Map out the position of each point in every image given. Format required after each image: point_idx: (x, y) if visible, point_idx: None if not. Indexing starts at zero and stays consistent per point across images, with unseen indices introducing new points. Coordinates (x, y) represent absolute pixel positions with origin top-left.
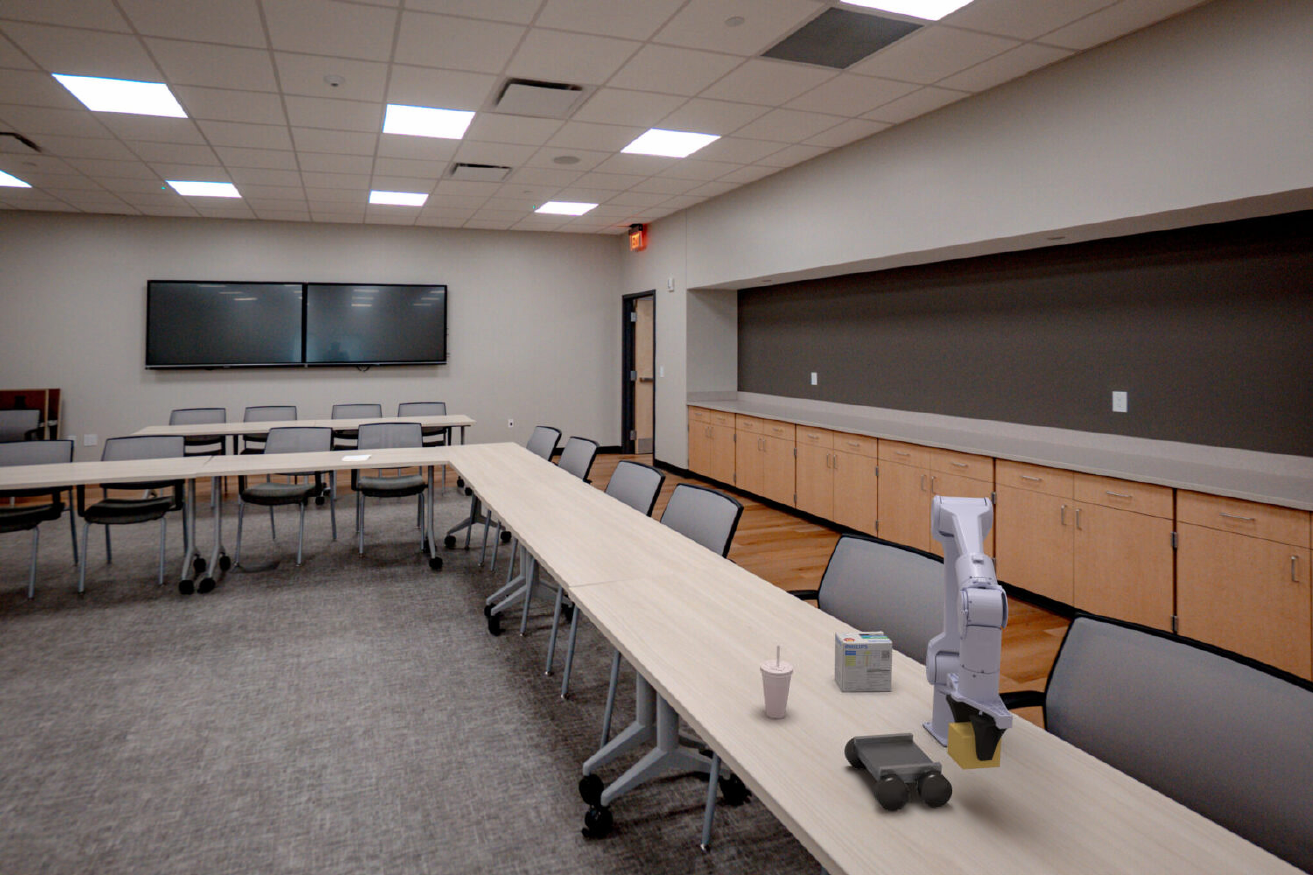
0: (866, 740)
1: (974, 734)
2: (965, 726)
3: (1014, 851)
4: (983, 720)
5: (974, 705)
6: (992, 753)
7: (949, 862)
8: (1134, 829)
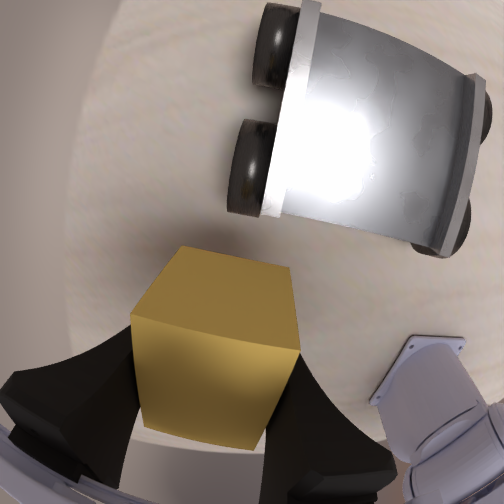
0: (469, 102)
1: (159, 374)
2: (238, 391)
3: (90, 222)
4: (20, 420)
5: (28, 488)
6: None
7: (92, 86)
8: None
